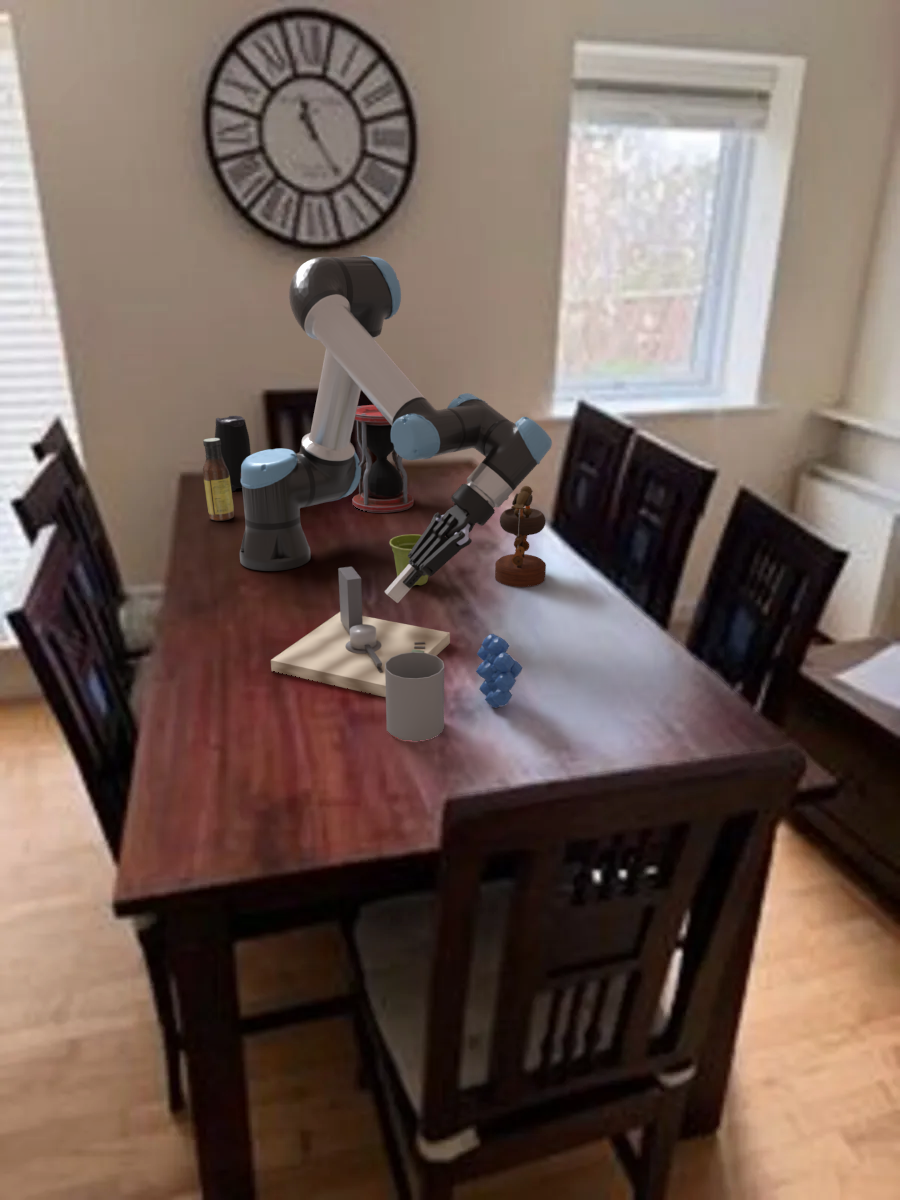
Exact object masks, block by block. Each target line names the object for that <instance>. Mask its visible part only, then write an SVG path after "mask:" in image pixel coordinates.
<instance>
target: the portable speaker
mask: <svg viewBox="0 0 900 1200" xmlns="http://www.w3.org/2000/svg"><path fill="white" fill-rule="evenodd" d="M245 419H246V418H244V417H243V416H241V415H229V416H227V417H216V418H215V431H214V438H218V439H220V442H221V445H220V447H221V454H222V457H223V460H224V462H225V464H226V467H227V469H228V471H229V476H230V483H231V491H232V492H235V491H236V490H237V489H241V488H242V484H241V466H242V463H243V461H244V460H245V459H246V458H247V457H248V456H250V455H252V453H251V443H250V442H251V441H250V436H249V432H248V428H247V424H246V420H245Z"/></svg>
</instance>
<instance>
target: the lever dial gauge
mask: <svg viewBox="0 0 900 1200" xmlns="http://www.w3.org/2000/svg"><path fill="white" fill-rule="evenodd" d="M337 570H338V589H339V590H338V591H339V594H338V595H339V606H340V607H339V610H340V611H339V612H340V617H341V622H342V624H343V625H344V627H345V628H346V630H347V631H348V633H349V634H350V645H351V647H353V648H355V649H365V650H366V651H367V653H368V654H369V656H370V657H371V659H372V660H373V662H374V663H375V665H376V666H377V667H381V666H382V662H381V661H380V659H379V658H378V656H377V655H376V654H375V652H374V651H373V649H372V648H373V647H374V646H376V628H375V627H374V626H372V625H367V624H363V619H362V616H363V602H362V601H363V597H362V596H363V595H362V593H363V592H362V591H363V590H362V578H361V575H359V574H358V572H357V571H356V570H355V568H354V567H353V566H345V567H339V568H338V569H337Z"/></svg>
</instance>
